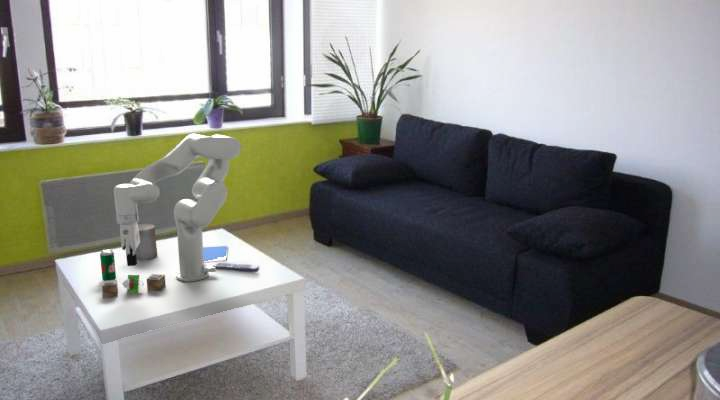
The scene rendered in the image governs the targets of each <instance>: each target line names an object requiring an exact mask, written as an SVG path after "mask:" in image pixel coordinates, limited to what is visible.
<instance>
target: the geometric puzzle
mask: <svg viewBox="0 0 720 400" xmlns="http://www.w3.org/2000/svg"><path fill="white" fill-rule="evenodd" d="M140 280H141V281H143V279H140V274H128V275H127V278H126V279H125V280H124V281H123V282H122V284H121V285H122V286H123V287H124V289H126V293H127V294H139V292H140V290H141V289H142V288H140V287H142V286H144V285H145V283H142V285H141V283H140V282H141V281H140Z"/></svg>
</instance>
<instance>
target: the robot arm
mask: <svg viewBox="0 0 720 400" xmlns="http://www.w3.org/2000/svg"><path fill="white" fill-rule="evenodd" d="M241 151H242V145H241V142H240V141H239V140H238V139H237V138H235V137H233V136H229V135H228V136H227V135H223V134H218V133H217V134H212V135H211V136H208V135H204V134H199V133H198V134H197V133H190V134H188V135H187V136H185V138H183V139H182V140H181V141H180V142H179V143H178V144H177V145H176V146H175V147H173V148H172V150H170V151H169V152H168V153H166V155H165V156H164V157H162V158H160V159H158V160H156V161H154V162H151V164H149V165H147V166H146V167H144V168H143V169H142V170H141V171H139V172H138V173H137V174H136V175H135V176H134V177H133V178H132V179H131V180H130V182H129V183H121V184H118V185H115V186H114V188H113V196H114V197H113V198H114V199H113V200H114V207H115V216H116V224H118V225H119V234H120V244H121V245H120V246H121V249H122V250H123V251H125V256H126V265H127V266H128V267H136V266H137V265H138V260H137V257H136V248H137V247H138V245H139V244H140V236H139V229H138V223H139V221H140V219H139V211H138V204H143V203H144V204H146V203H148V204H149V203H153V202H155V201H156V200H157V199H158V198H159V197H160V194H161V191H160V188H159V187H158V185H157V184H156V183H158V182H159V181H162V180H163V179H165V178H170V177H174V176H177V175H180V174H182V173H183V172H184V171H185V170H186V169H187V168H188V167H189V166H190V165H191V164H192V163H193V162H194V161H195V160H197V158H201V159H208V163H207V164H206V167H205V168H204V170H203V171H202V172H201V174H200V175H199V177H198V178H197V179H196V181H195V183H194V184H193V185H192V189H191V193H192V195H193V196H194V198H195V199H197V200H194V199H190V198H184V199H181V200H178V201H177V203H176V204H175V205H174V208H173V218H174V221H175V225H176V226H175V227H176V232H177V234H176V235H177V246H178V248H177V249H178V250H177V251H178V264H179V271H178V272H177V273H175V278H176V279H177V280H178V281H181V282H197V281H201V279H202V280H204V279H206V278H208V276H209V273H216V269H217V268H216V266H213V265H207V264H206V262H204V256H203V247H204V244H203V243H204V242H203V229H204V228H205V227H208V225H210V223H211V222H212V221H213V220H214V218H215V217H216V215H217V214H218V212H219V211H220V210H221V208H222V206H223V205H224V203H225V202H226V200H227V196H228V189H227V186H226V185H225V184H224V183H223V182H224V180H225V179H226V177H227V175H228V173H229V170H230V160H233V159H235V158H237V157H238V156H239V155H240V153H241Z"/></svg>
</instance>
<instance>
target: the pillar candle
mask: <svg viewBox="0 0 720 400" xmlns="http://www.w3.org/2000/svg"><path fill="white" fill-rule="evenodd" d="M138 229H139V236H140V244H139V245H138V247H137V248H136V257H137V261H144V260H145V261H146V260H152V259H154V258H156V257H157V256H158V247H157V237H156V228H155V225H154V224H152V223H140V224H138Z"/></svg>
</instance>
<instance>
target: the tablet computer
mask: <svg viewBox="0 0 720 400" xmlns="http://www.w3.org/2000/svg"><path fill="white" fill-rule="evenodd" d="M227 248H228V249H229V247H228V246H227V245H224V246H223V245H222V246H220V245H219V246H218V245H217V246H206V247H205V246H203V256H204V261H208V260H213V259H217V258H218V257H224V256H226V255H227V256H228V254H227Z"/></svg>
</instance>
